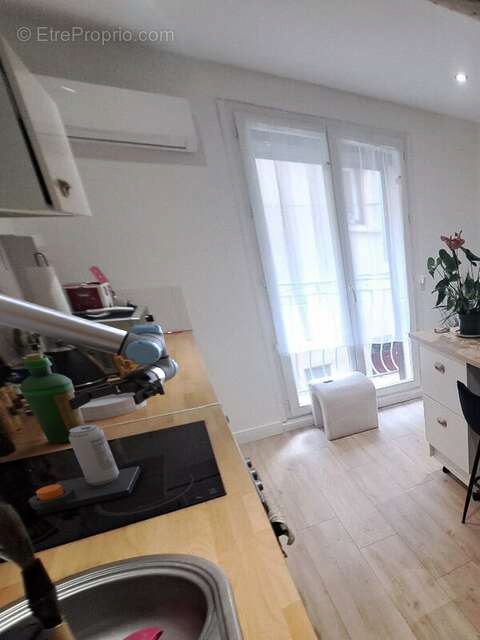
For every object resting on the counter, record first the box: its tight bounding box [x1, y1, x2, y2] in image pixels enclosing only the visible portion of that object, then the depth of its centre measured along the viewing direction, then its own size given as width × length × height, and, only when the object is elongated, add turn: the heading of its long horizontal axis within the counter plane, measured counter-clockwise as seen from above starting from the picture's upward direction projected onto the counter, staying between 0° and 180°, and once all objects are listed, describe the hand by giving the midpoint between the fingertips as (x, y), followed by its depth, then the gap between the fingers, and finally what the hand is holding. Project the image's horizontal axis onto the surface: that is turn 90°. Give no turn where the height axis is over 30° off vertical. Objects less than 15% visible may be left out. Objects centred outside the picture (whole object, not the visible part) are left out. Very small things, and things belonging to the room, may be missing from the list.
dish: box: [80, 389, 147, 422], centre depth 154 cm, size 22×22×5 cm
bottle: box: [18, 353, 86, 445], centre depth 127 cm, size 11×11×28 cm
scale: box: [28, 465, 142, 516], centre depth 104 cm, size 17×15×4 cm
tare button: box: [35, 483, 64, 500], centre depth 97 cm, size 4×4×2 cm
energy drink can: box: [69, 423, 119, 485], centre depth 104 cm, size 6×6×15 cm
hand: (104, 402), depth 111 cm, fingers open, 13 cm apart
